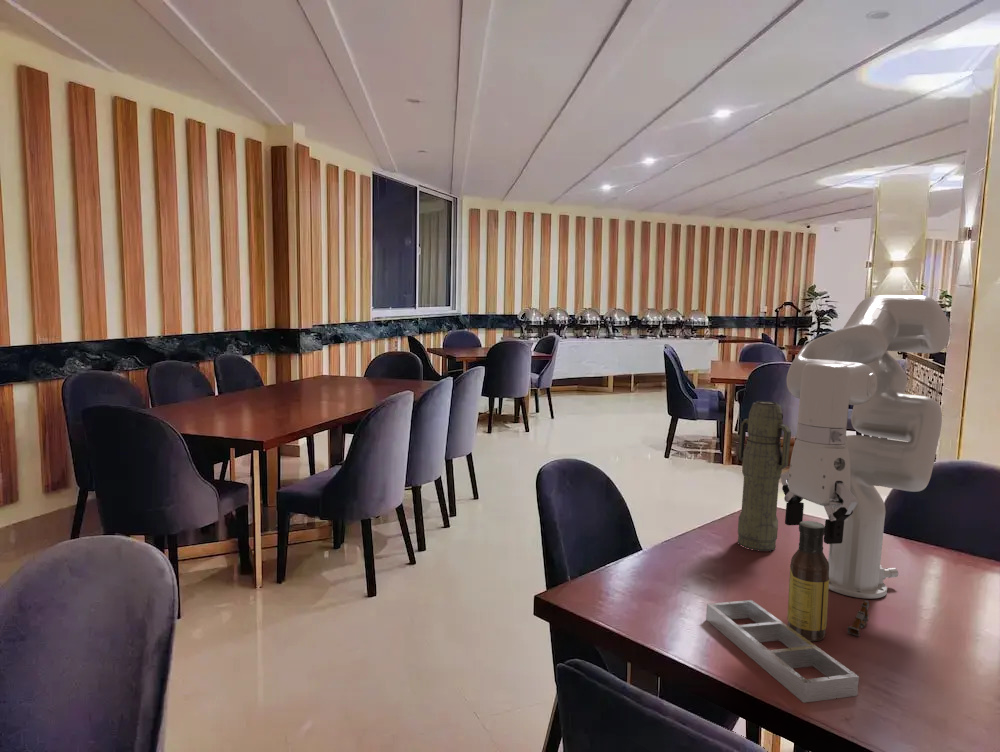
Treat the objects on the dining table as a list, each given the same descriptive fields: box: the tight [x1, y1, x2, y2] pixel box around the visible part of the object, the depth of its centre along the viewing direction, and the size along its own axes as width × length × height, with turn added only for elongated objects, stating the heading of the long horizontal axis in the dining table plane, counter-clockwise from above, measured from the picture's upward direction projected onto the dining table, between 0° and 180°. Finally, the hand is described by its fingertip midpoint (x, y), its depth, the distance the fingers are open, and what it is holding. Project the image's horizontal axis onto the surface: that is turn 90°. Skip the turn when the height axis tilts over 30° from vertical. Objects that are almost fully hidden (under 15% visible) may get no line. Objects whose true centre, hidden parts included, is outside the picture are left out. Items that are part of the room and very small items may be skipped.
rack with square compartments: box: [705, 599, 860, 704], centre depth 109 cm, size 9×26×3 cm, turn 14°
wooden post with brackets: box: [847, 600, 870, 638], centre depth 119 cm, size 2×8×4 cm, turn 136°
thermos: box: [737, 400, 792, 552], centre depth 158 cm, size 9×12×35 cm
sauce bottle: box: [787, 520, 830, 642], centre depth 115 cm, size 6×6×20 cm
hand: (812, 533), depth 114 cm, fingers open, 9 cm apart
